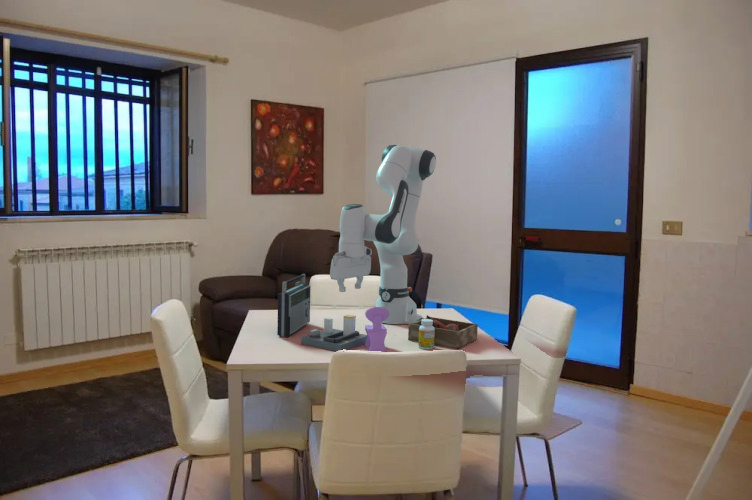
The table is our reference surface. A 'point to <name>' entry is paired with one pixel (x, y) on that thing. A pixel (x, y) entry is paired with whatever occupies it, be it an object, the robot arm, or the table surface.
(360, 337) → the console
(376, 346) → the toy chair
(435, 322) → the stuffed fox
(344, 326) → the white cylinder
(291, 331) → the radio
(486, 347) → the table surface
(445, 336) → the wooden tray
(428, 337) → the supplement bottle
